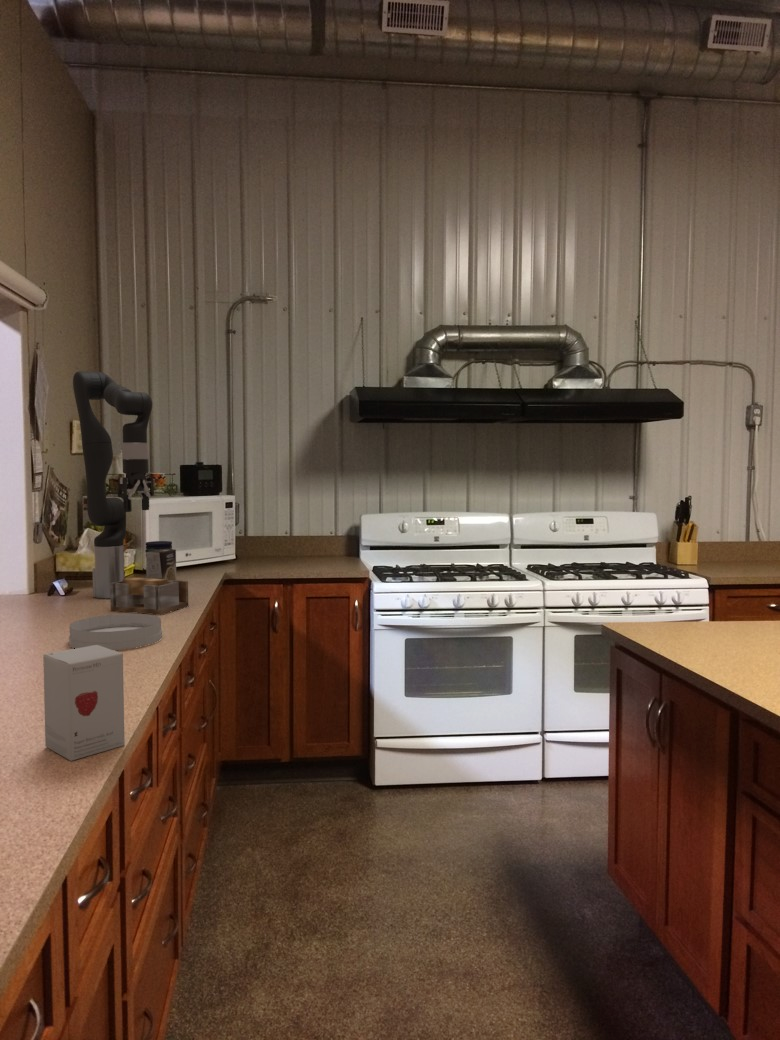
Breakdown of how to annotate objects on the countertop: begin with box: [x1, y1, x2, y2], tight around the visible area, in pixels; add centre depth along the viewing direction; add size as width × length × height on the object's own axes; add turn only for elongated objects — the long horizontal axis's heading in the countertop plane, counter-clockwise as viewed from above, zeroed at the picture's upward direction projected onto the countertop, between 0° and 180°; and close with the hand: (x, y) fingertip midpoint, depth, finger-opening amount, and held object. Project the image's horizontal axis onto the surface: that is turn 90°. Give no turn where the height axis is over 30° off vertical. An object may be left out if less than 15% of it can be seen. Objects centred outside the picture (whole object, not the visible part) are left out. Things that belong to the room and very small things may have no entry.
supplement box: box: [43, 645, 126, 762], centre depth 116 cm, size 9×9×15 cm
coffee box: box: [145, 548, 177, 580], centre depth 245 cm, size 9×6×16 cm
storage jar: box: [144, 540, 173, 553], centre depth 282 cm, size 10×10×15 cm
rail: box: [123, 577, 167, 596], centre depth 226 cm, size 13×4×4 cm, turn 72°
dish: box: [68, 613, 163, 651], centre depth 187 cm, size 22×22×5 cm
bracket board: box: [109, 579, 189, 615], centre depth 228 cm, size 18×14×8 cm
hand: (136, 511), depth 228 cm, fingers open, 8 cm apart
